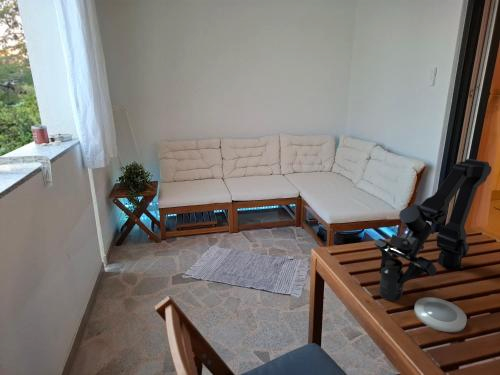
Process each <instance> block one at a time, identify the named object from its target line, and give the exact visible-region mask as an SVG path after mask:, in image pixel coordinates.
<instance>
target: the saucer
mask: <svg viewBox="0 0 500 375" xmlns="http://www.w3.org/2000/svg"><path fill="white" fill-rule="evenodd" d="M413 308H414V309H413V310H414V315H415V316H416V317H417V319H418V320H419V321H420V322H421V323H423V324H424V325H426V326H428V327H430V328H431V329H434V330H437V331H440V332H445V333H446V332H447V333H456V332H461V331H463V330H464V329H465V328H466V326H467V322H468V319H467V318H468V317H467V315H466V313H465V312H464V311H463V309H461V308H460V307H459V306H457V305H456V304H454V303H452V302H450V301H449V300H448V301H447V300H446V299H443V298H442V299H441V298H437V297H422V298H420V299H418V300H417V301H416V302H415V303H414V307H413Z"/></svg>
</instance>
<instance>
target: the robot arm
mask: <svg viewBox="0 0 500 375" xmlns="http://www.w3.org/2000/svg"><path fill="white" fill-rule="evenodd" d="M491 172H492V165H490V163H489V162H488V161H485V160H484V161H483V160H477V159H471V158H466V159H465V160H464V161H457V163H454V164H453V165H452V166H451V171H450V173H448V175H447V176H446V178H445V179H444V181H443V182H442V183H441V184H440V186H439V188H438V189H437V190H436V192H434V195H432V196H430V197H427V198H425V200H424V201H423V202H422V203H421V204H420V205H419V204H416V203H412V204H411V206H406V207H404V208H402V209H401V210H400V212H399V216H398V217H399V219H400V221H401V222H402V223H403V224H404V226H405V227H406V228H407V231H406V233H403V234H402V235H401V236H400V235H397V234H391V237H390V239H389V241H387V240H384V239H383V238H378V239H376V241H375V242H374V245H375V247H376V248H377V249H378V250H379V251H380V253H381V262H380V265H379V266H380V267H379V274H380V275H381V270H382V268H383V267H385V263H386V260H387V259H390V258H393V257H392V254H394V256H396V257H399V258H401V259H404V260H405V261H407V262H409V263H408V267H407V268H406V270H405V271H404V275H403V276H402V278H401V279H400V281H399V284H400V285H402V284H403V283H404V284H405V283H407V282H408V281H410V280H412V279H413V278H416V277H418V276H421V275H422V276H424V275H426V274H427V275H429V276H432V277H435V275H436V273H437V271H438V270H437V266H436V265H435V263H433V261H432V260H430V259H428V258H425V257H423V256H417V255H418V254H419V253H420V251H421V250H424V249H425V246H424V245H425V243H426V241H427V240H428V238H429V237H430V235H434V234H435V229H434V225H432V224H436V225H441V224H442V223H444V221H445V220H446V219H447V215H448V213H449V204H450V203H451V201H452V200H453V198H454V197H455V195H456V194H457V196H456V199H455V201H454V204H453V205H454V206H453V208H452V210H451V214H450V215H449V216H450V217H449V219H448V222H447V223H445V224H444V225H441V226H440V228H439V230H438V233H437V235H436V240H435V241H436V247H437V248H440V252H439V253H438V254H439V255H438V259H435V262H436V263H437V264H439V265H441V267H442V268H444V269H445V270H447V271H452V270H462V269H464V267H465V266H463V265H462V259H463V256H464V257H465V256H467V255H468V252H469V250H470V245H469V244H468V242H467V241H466V240H467V236H468V235H467V232H466V229H465V224H466V222H467V218H468V217H469V214H470V211H471V208H472V205H473V201H474V199H475V196H476V193H477V190H478V187H480V186H481V185H483V184H484V183H486V181H487V180H488V177H489V176H490V174H491ZM430 223H432V224H430ZM393 259H395V257H394V258H393Z"/></svg>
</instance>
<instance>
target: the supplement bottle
mask: <svg viewBox="0 0 500 375" xmlns="http://www.w3.org/2000/svg"><path fill="white" fill-rule="evenodd" d="M403 266H404V265H403V261H401V260H400V259H397V258H394V259H393V258H390V259H387V260H386V263H385V267H383V268H382V270H381V274H380V280H379V288H378V289H379V290H378V292H379V293H378V294H379V296H381V298H383V299H384V300H387V301H388V302H389V301H390V302H398V301H400V300H401V299H402V298H403V292H404V286H405V283H403V284H402V285H400V284H399V281H400V279H401V278H402V276H403V275H404V273H405V271H404V270H403Z"/></svg>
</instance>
